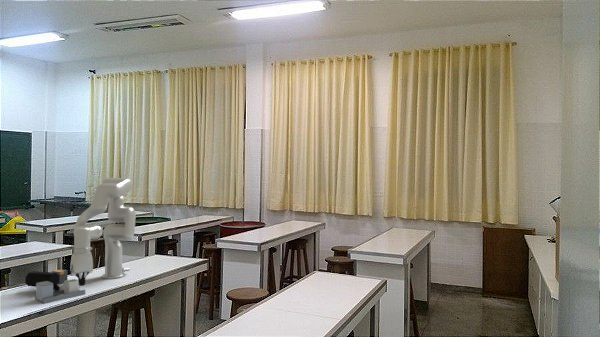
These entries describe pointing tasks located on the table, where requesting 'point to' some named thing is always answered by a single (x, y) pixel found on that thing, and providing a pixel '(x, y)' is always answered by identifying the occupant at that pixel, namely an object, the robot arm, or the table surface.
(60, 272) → the relay block
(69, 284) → the block
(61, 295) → the gray flat slab
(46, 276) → the security camera
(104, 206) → the robot arm
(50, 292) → the mounted module
